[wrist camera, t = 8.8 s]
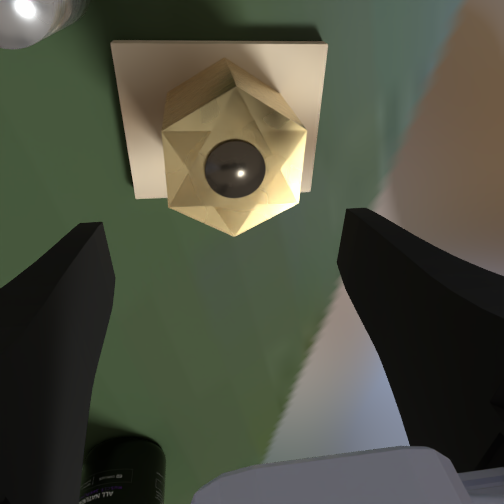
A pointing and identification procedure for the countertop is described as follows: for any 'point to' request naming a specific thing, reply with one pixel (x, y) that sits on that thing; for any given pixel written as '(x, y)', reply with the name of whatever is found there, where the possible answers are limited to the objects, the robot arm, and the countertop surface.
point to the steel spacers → (36, 20)
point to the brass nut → (231, 149)
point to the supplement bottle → (124, 473)
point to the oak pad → (191, 63)
